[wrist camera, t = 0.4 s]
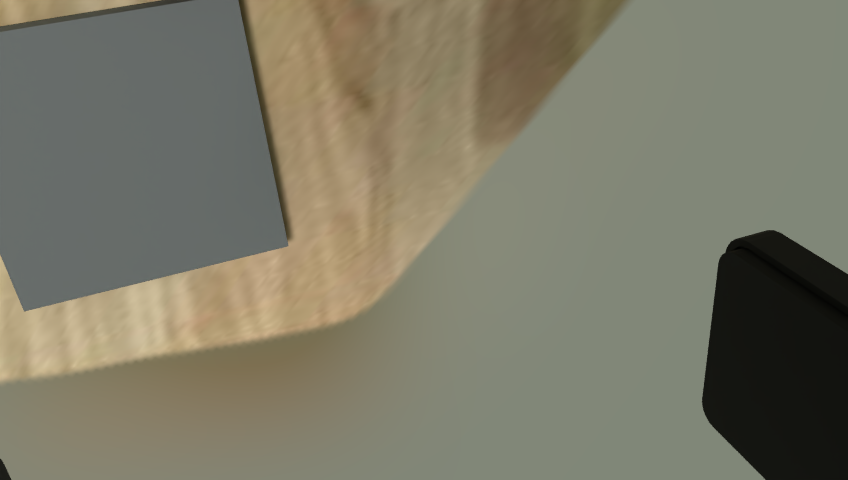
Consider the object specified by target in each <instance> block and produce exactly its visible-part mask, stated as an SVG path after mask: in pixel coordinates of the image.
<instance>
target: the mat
mask: <svg viewBox="0 0 848 480" xmlns="http://www.w3.org/2000/svg"><path fill="white" fill-rule="evenodd" d="M287 246H288V242H287V237H286V232H285V227H284V222H283V217H282V212H281V207H280V202H279V198H278V193H277V188H276V183H275V178H274V173H273V168H272V163H271V158H270V153H269V148H268V144H267V139H266V134H265V129H264V124H263V119H262V114H261V109H260V104H259V99H258V95H257V90H256V85H255V80H254V75H253V70H252V65H251V60H250V55H249V50H248V46H247V41H246V36H245V31H244V26H243V21H242V16H241V11H240V6H239V1H238V0H161V1H155V2H149V3H143V4H137V5H130V6H124V7H118V8H112V9H106V10H100V11H93V12H87V13H81V14H75V15H69V16H63V17H56V18H50V19H44V20H38V21H32V22H26V23H19V24H13V25H7V26H1V27H0V255H1V257H2V260H3V262H4V264H5V267H6V269H7V271H8V274H9V276H10V279H11V281H12V283H13V286H14V288H15V291H16V293H17V295H18V298H19V300H20V303H21V305H22V307H23V310H24V311H28V310H32V309H36V308H40V307H44V306H48V305H52V304H56V303H60V302H64V301H68V300H72V299H76V298H80V297H84V296H88V295H93V294H97V293H101V292H105V291H109V290H113V289H117V288H121V287H125V286H129V285H133V284H137V283H141V282H145V281H149V280H153V279H157V278H161V277H165V276H169V275H173V274H178V273H182V272H186V271H190V270H194V269H198V268H202V267H206V266H210V265H214V264H218V263H222V262H226V261H230V260H234V259H238V258H242V257H246V256H250V255H254V254H258V253H263V252H267V251H271V250H275V249H279V248H283V247H287Z"/></svg>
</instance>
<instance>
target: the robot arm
mask: <svg viewBox="0 0 848 480" xmlns="http://www.w3.org/2000/svg"><path fill="white" fill-rule="evenodd" d="M715 289H716V290H715V297H714V305H713V313H712V322H711V330H710V338H709V347H708V355H707V364H706V372H705V381H704V389H703V397H702V405H703V410H704V412H705V415H706V417H707V419H708V421H709V423H710V424H711V425H712V426H713V427H714V428H715V429H716V430H717V431H718V432H719V433H720V434H721V435H722V436H723V437H724V438H725V439H726V440H727V441H728V442H729V443H730V444H731V445H732V446H733V447H734V448H735V449H736V450H737V451H738V452H739V453H740V454H741V455H742V456H743V457H744V458H745V459H746V460H747V461H748V462H749V463H750V464H751V465H752V466H753V467H754V468H755V469H756V470H757V471H758V472H759V473H760V474H761V475H762V476H763V477H764V478H765V479H766V480H848V274H846V273H845V272H843V271H842V270H840V269H838V268H837V267H835V266H834V265H832V264H830V263H829V262H827V261H825V260H824V259H822V258H821V257H819V256H817V255H815V254H814V253H812V252H811V251H809V250H807V249H806V248H804V247H803V246H801V245H799V244H798V243H796V242H794V241H793V240H791V239H789V238H788V237H786V236H785V235H783V234H781V233H779V232H777V231H774V230H767V231H764V232H760V233H756V234H753V235H749V236H745V237H742V238H738V239H735V240H733V241H731V242H730V244H729V245H728V247H727V249H726V253H724V254H723V255H722V256H721V257H720V260H719V263H718V272H717V280H716V288H715ZM0 480H11V478H10V476H9V474H8V472H7V469H6V467H5V465H4V464H3V462H2V460H1V459H0Z"/></svg>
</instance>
